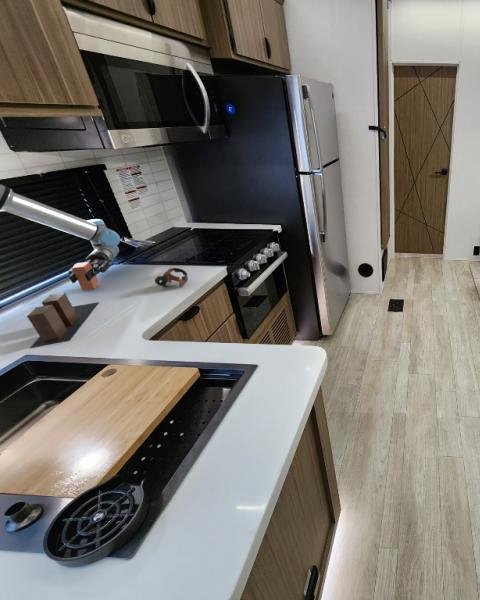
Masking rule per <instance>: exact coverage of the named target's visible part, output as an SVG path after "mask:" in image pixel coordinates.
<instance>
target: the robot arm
mask: <svg viewBox="0 0 480 600" xmlns="http://www.w3.org/2000/svg"><path fill="white" fill-rule="evenodd" d="M0 212H6V213H9V214H12V215H15V216H18V217H21V218H24V219H26V220H30V221H33V222H35V223H39V224H42V225H44V226H46V227H47V226H48V227H50V228H52V229H56V230H59V231H62V232H65V233H68V234H70V235H74V236H76V237H79V238H82V239H85V240H88V241H90V243H91V246H92V248H93V251H92V252H91V253H90V254H88V255H87V257H86V258H85V262H90V264H91V266H92V268H93V269H90V270H89V271H88V272H87V273H86V274H85V277H86V279H87V281H90V280H91V279H92V278H93V277H94V276H95V275H96V276H97V275H99V274H100V273H101V274H104V273H106V272H107V271H108V270H109V269H110V268H111V267H112V266H114V262H113V260H114V259H116V258H117V256H118V254H119V253H120V249H119V246H118V245H119V244H120V242H121V237H120V234H118V233H117V232H116V231H115V230H112V229H110V228H108V227H107V226H106V224H105V222H104V221H103V219H100V218H94V219H88V220H86V219H83V218H81V217H78V216H76V215H73V214H70V213H68V212H65V211H63V210H61V209H57V208H54V207H52V206H50V205H47V204H44V203H42V202H39V201H37V200H34V199H31V198H29V197H27V196H24V195H21V194H19V193H15V192H14V191H13V189H12V188H10V187H8V186H5V185H3V184H1V183H0ZM76 264H77V263H74V265H73V266H72V267H74V266H75V265H76ZM72 267H71V268H70V269H69V270H68V271H67V272H68V274H69V276H68V278H69V279H70V282H71V283H72V284H75V283H76V282H78V280H77V278H76V276H75V274H74V272H73V270H72Z"/></svg>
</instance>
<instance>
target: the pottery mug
mask: <svg viewBox="0 0 480 600" xmlns="http://www.w3.org/2000/svg"><path fill="white" fill-rule="evenodd" d="M172 272H175V273H181V274H183V276H181V278H180V277H179V276H178V275H177V276H176V275H174V274H172ZM188 280H189V277H188V273H187V271H186V270H184V269H182V268H180V267H170V268H168V269H167V271H165V272H164V273H163V274H162V275H158V276H157V277H155V279H154V284H156V285H157V286H159V287H162V288H167V283H168V284H169V283H172V282H173V281H174V282H178V283H179V284H178V287H179V288H183V287H184V286H185V285H186V283H187V282H188Z"/></svg>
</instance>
